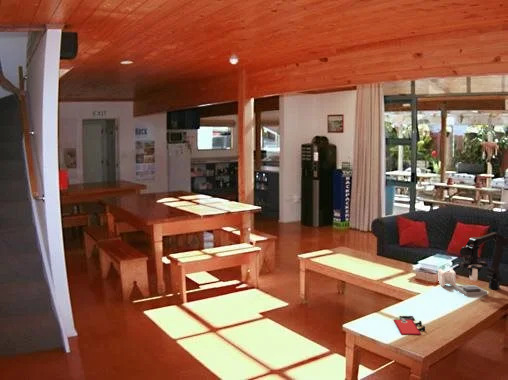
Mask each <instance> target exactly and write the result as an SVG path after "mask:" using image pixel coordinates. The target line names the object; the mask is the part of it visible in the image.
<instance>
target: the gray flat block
mask: <svg viewBox="0 0 508 380" xmlns="http://www.w3.org/2000/svg"><path fill="white" fill-rule="evenodd" d="M478 287H479V286H478ZM478 287H463V290H464V291H465V292H480V290H481V289H482V288H481V289H479V288H478Z"/></svg>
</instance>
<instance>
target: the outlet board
mask: <svg viewBox="0 0 508 380" xmlns="http://www.w3.org/2000/svg"><path fill="white" fill-rule="evenodd" d="M463 287H478V288H479V289H481V290H480V292H465V291H464V290H463ZM453 288H454V290H455V291H456V292H458V291H459V292H458V293H460V294H462V295H463V294H464V295H463V296H466V297H472V296H475V297H476V296H477V297H478V296H488V291H487V290H485V289H483V288H482V287H480V286H478V285H476V284H469V285H468V284H467V285H465V284H464V285H463V284H462V285H456V286H454V287H453Z"/></svg>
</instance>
